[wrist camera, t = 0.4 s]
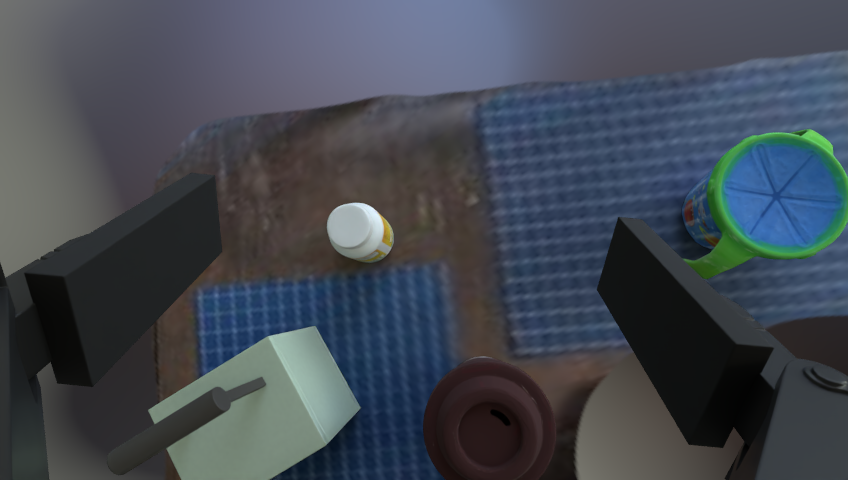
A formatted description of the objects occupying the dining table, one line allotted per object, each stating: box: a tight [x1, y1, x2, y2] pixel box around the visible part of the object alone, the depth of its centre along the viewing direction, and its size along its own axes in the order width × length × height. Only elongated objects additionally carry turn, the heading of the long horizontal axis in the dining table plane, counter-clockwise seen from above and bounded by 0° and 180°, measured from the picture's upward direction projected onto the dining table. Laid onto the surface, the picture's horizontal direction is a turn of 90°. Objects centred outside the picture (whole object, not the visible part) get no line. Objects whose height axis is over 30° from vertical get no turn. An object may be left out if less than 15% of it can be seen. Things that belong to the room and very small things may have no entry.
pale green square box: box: [107, 326, 360, 480], centre depth 40 cm, size 20×12×10 cm
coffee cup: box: [423, 357, 556, 480], centre depth 41 cm, size 10×10×15 cm
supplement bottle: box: [327, 203, 393, 263], centre depth 46 cm, size 5×5×10 cm
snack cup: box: [682, 129, 848, 279], centre depth 43 cm, size 16×10×10 cm
